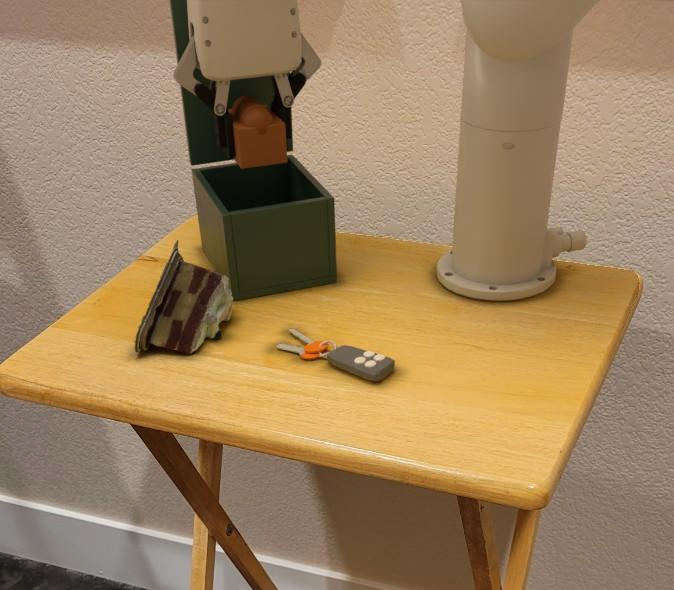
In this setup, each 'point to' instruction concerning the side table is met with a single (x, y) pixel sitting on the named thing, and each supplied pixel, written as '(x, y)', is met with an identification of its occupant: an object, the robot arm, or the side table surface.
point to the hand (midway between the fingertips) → (254, 148)
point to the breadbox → (266, 227)
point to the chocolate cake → (185, 307)
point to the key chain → (345, 357)
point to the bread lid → (197, 111)
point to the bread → (257, 134)
